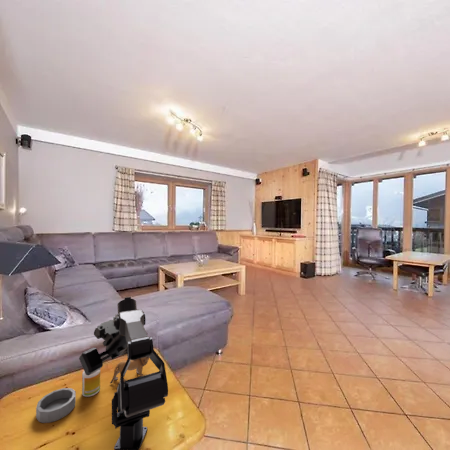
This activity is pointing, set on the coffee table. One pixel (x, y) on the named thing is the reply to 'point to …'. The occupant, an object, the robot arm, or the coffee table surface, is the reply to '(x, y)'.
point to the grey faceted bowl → (55, 405)
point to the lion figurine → (131, 366)
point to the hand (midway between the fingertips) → (102, 362)
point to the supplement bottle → (90, 383)
